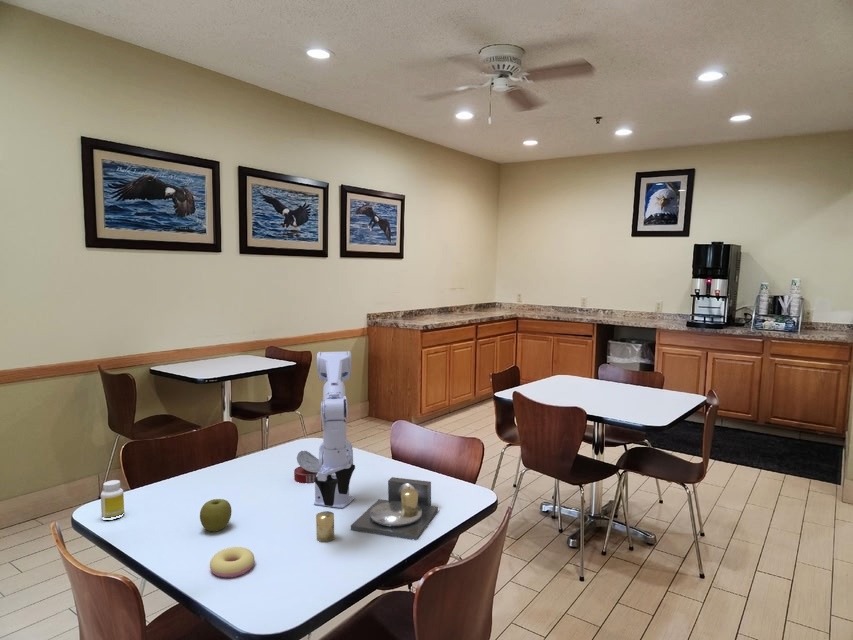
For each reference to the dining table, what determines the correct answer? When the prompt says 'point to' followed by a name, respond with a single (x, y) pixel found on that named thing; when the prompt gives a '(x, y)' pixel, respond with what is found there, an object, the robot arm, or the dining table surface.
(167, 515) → the dining table surface
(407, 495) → the cylinder
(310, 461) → the canned food
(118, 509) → the supplement bottle
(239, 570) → the donut
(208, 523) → the apple
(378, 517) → the scale pan
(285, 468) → the dining table surface
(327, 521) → the cylinder
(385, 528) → the scale
